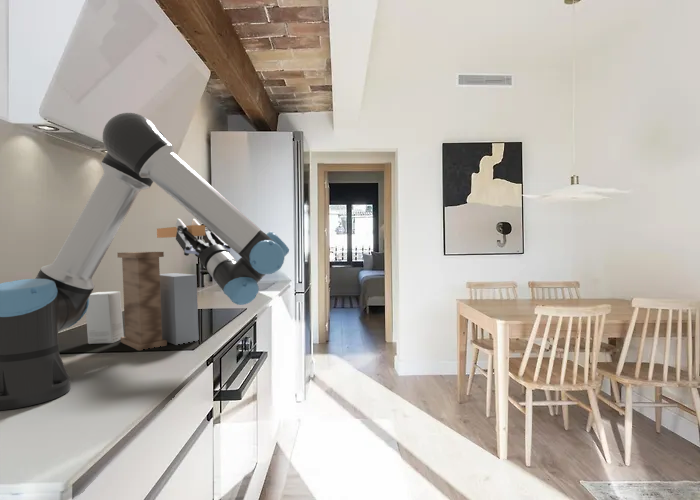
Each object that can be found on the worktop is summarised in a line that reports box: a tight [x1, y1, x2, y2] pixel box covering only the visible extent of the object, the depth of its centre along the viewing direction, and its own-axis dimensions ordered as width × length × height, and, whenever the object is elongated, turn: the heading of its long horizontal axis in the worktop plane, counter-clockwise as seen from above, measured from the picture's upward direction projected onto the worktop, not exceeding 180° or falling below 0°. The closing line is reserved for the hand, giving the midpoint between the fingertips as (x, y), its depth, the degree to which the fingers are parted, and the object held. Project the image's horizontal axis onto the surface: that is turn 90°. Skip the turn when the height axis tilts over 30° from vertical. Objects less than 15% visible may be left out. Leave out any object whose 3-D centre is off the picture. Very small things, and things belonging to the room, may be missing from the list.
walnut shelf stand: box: [117, 251, 168, 351], centre depth 133 cm, size 8×16×28 cm, turn 44°
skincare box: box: [85, 290, 125, 345], centre depth 137 cm, size 8×7×16 cm
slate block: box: [160, 272, 200, 346], centre depth 138 cm, size 7×16×20 cm, turn 44°
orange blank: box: [156, 224, 206, 239], centre depth 134 cm, size 4×26×3 cm, turn 44°
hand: (185, 222), depth 131 cm, fingers closed on orange blank, 4 cm apart
